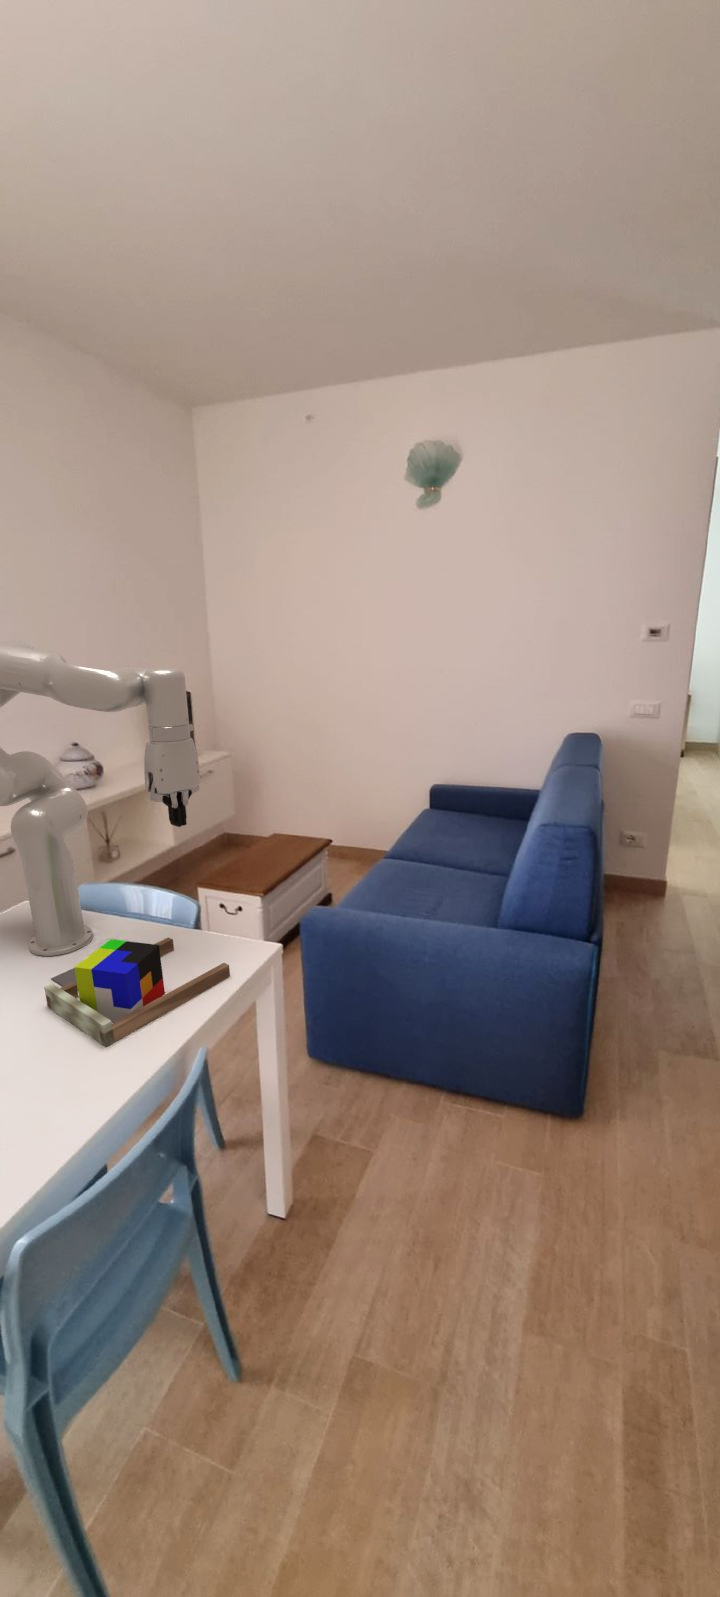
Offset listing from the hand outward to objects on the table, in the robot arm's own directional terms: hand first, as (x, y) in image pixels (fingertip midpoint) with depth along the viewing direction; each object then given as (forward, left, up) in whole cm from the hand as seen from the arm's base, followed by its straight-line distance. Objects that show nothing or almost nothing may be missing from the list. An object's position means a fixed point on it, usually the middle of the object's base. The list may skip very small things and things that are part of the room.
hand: (178, 824), depth 128 cm
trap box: (+7, -16, -27) cm, 32 cm away
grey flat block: (-7, -21, -27) cm, 35 cm away
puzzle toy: (+8, -21, -27) cm, 35 cm away
